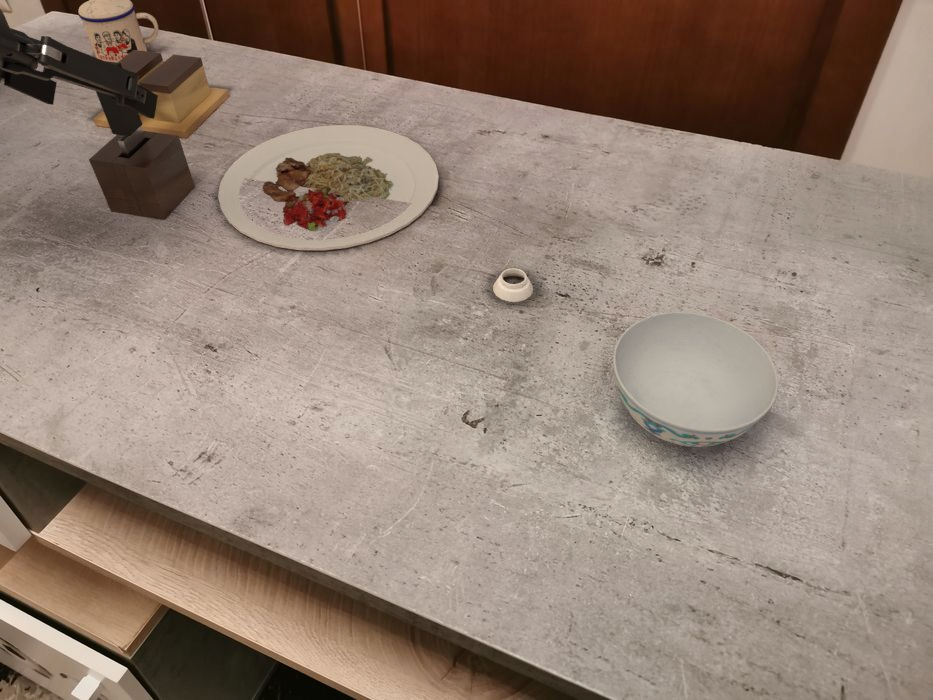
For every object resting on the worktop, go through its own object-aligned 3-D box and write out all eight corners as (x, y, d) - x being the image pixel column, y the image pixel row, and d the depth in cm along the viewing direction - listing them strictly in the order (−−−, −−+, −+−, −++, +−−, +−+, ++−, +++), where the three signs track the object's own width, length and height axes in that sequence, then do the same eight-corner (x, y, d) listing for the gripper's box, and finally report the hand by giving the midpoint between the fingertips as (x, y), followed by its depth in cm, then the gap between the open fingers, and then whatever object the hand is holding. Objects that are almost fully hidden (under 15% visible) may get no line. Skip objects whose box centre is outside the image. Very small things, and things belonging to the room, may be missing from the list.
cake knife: (140, 213, 98) (85, 73, 84) (156, 196, 101) (105, 58, 87) (156, 215, 98) (103, 76, 84) (172, 199, 100) (123, 60, 86)
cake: (95, 125, 114) (77, 82, 109) (144, 85, 124) (129, 43, 119) (186, 138, 112) (172, 94, 106) (229, 96, 121) (218, 53, 116)
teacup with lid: (95, 72, 127) (68, 3, 119) (98, 51, 133) (73, -16, 125) (166, 64, 129) (145, -5, 121) (166, 43, 135) (146, -24, 127)
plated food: (414, 124, 114) (412, 104, 112) (462, 237, 94) (462, 216, 92) (218, 152, 109) (212, 131, 106) (225, 278, 89) (218, 256, 86)
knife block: (113, 218, 97) (88, 159, 91) (146, 185, 103) (124, 127, 96) (167, 227, 96) (145, 168, 89) (197, 193, 101) (178, 135, 95)
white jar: (491, 281, 88) (491, 309, 85) (491, 262, 86) (492, 290, 82) (532, 281, 88) (534, 309, 84) (534, 262, 86) (536, 290, 82)
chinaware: (621, 348, 80) (632, 296, 74) (762, 385, 76) (785, 333, 71) (586, 452, 70) (596, 401, 65) (745, 501, 67) (770, 451, 61)
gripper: (-178, 47, 67) (7, 118, 88) (55, 77, 63) (191, 145, 84) (-167, -34, 67) (16, 56, 88) (68, -10, 62) (202, 79, 83)
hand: (102, 100), depth 86 cm, fingers open, 13 cm apart
